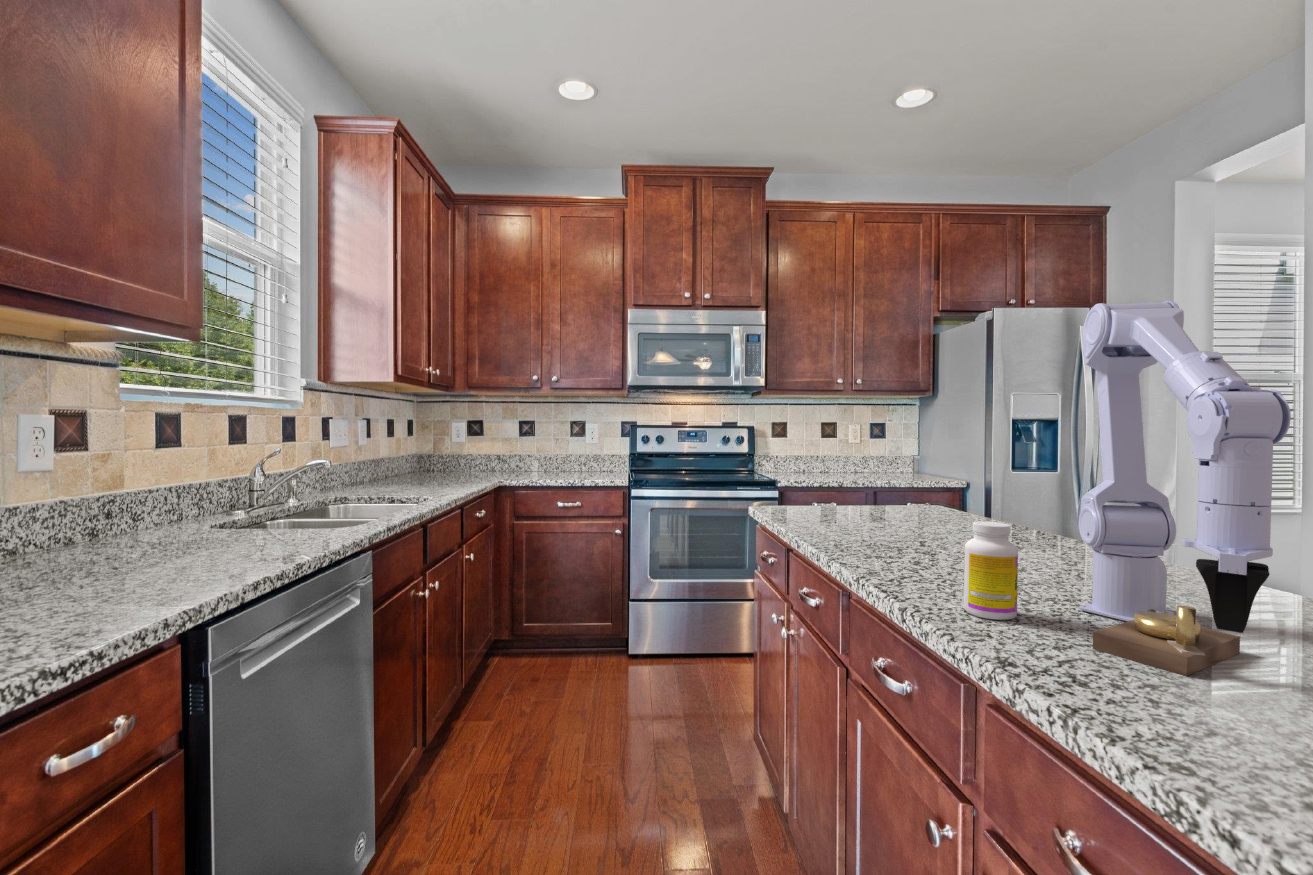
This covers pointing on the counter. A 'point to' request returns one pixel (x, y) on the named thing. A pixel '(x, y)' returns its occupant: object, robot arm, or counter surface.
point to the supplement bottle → (991, 572)
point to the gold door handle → (1170, 625)
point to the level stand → (1166, 648)
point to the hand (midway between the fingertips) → (1229, 629)
